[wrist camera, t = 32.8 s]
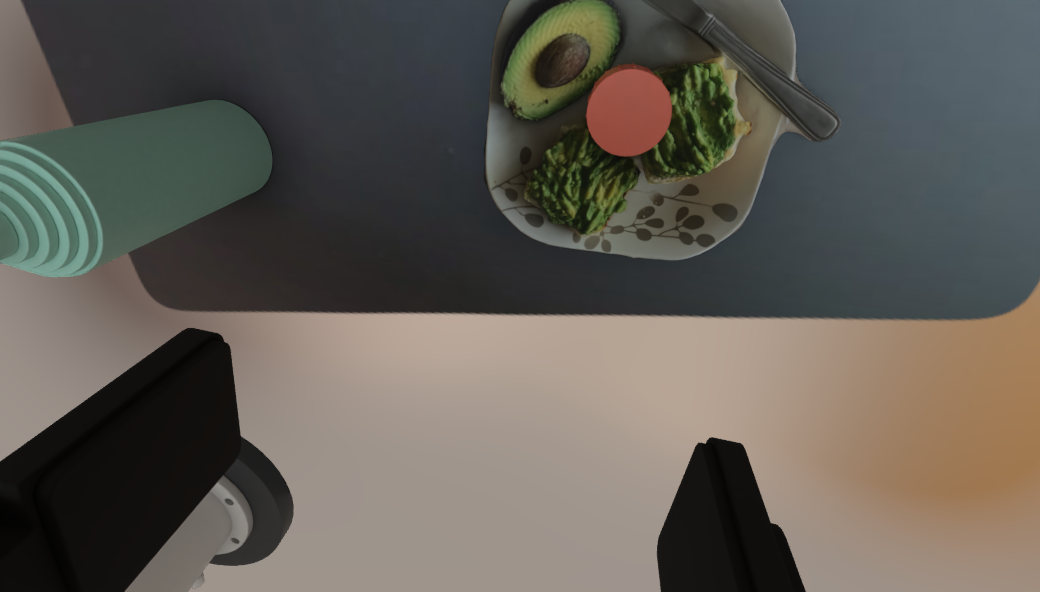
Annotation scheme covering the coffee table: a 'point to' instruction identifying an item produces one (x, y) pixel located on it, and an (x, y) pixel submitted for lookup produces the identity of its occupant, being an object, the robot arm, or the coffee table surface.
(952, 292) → the coffee table surface
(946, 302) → the coffee table surface
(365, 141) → the coffee table surface
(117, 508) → the robot arm
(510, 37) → the salad plate
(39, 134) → the bottle
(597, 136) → the cap
